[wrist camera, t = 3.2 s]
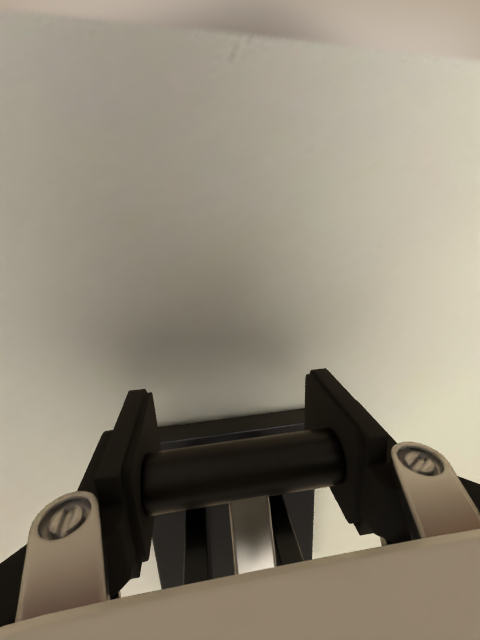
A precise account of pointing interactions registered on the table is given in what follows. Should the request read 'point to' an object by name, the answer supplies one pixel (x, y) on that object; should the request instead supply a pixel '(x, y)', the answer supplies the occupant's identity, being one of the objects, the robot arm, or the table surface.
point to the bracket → (213, 521)
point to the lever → (242, 483)
